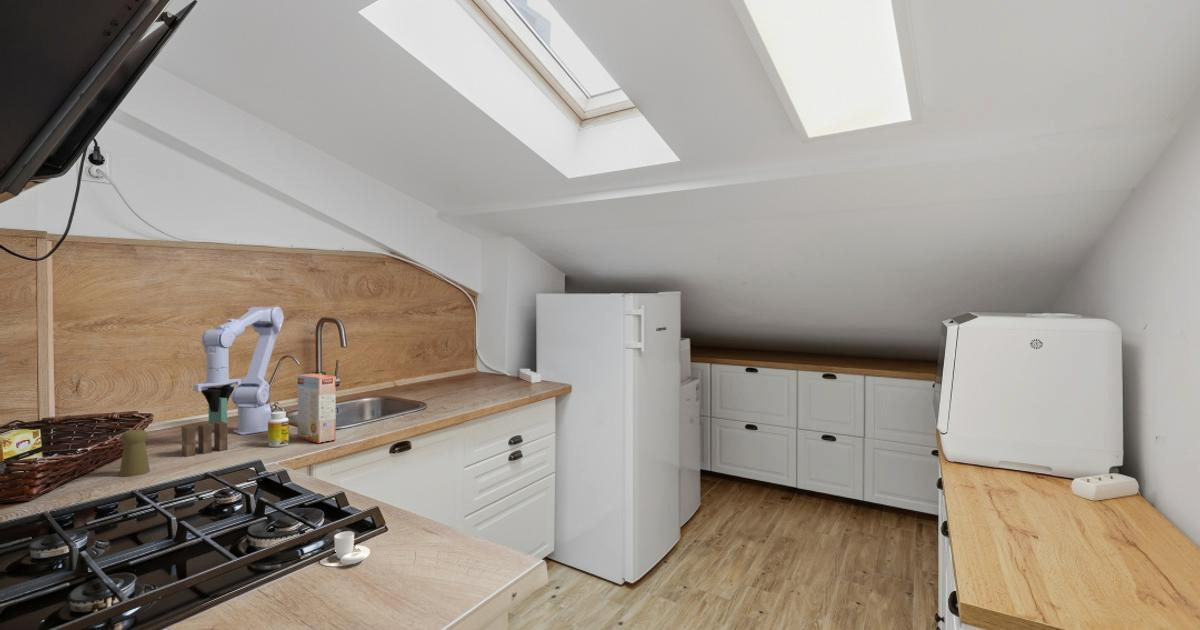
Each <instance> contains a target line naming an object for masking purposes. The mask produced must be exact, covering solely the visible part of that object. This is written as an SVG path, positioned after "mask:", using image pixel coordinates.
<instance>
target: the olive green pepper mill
mask: <svg viewBox="0 0 1200 630" xmlns="http://www.w3.org/2000/svg"><path fill="white" fill-rule="evenodd" d="M148 437H149V434H148V433H147V431H146V430H144V429H132V430H128V431H125V432H123V433H122V435H121V438H120V439H121V440H120V441H121V443H122V444H123V449H122V455H121V464H120V468H119V469H120V470H119V473H118V475H119V477H136V476H141V475H145V474H148V473H149V472H151V469H150V465H149V464H150V463H149V458H148V452H147V446H146V441H148Z"/></svg>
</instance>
